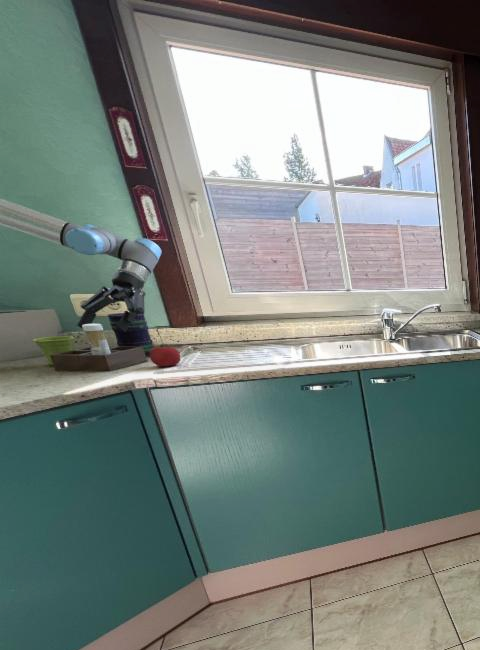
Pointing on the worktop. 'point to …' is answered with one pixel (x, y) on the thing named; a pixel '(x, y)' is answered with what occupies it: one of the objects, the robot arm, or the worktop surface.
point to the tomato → (164, 356)
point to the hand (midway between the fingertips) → (101, 328)
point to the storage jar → (132, 333)
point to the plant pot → (54, 345)
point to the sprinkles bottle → (96, 339)
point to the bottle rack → (98, 359)
